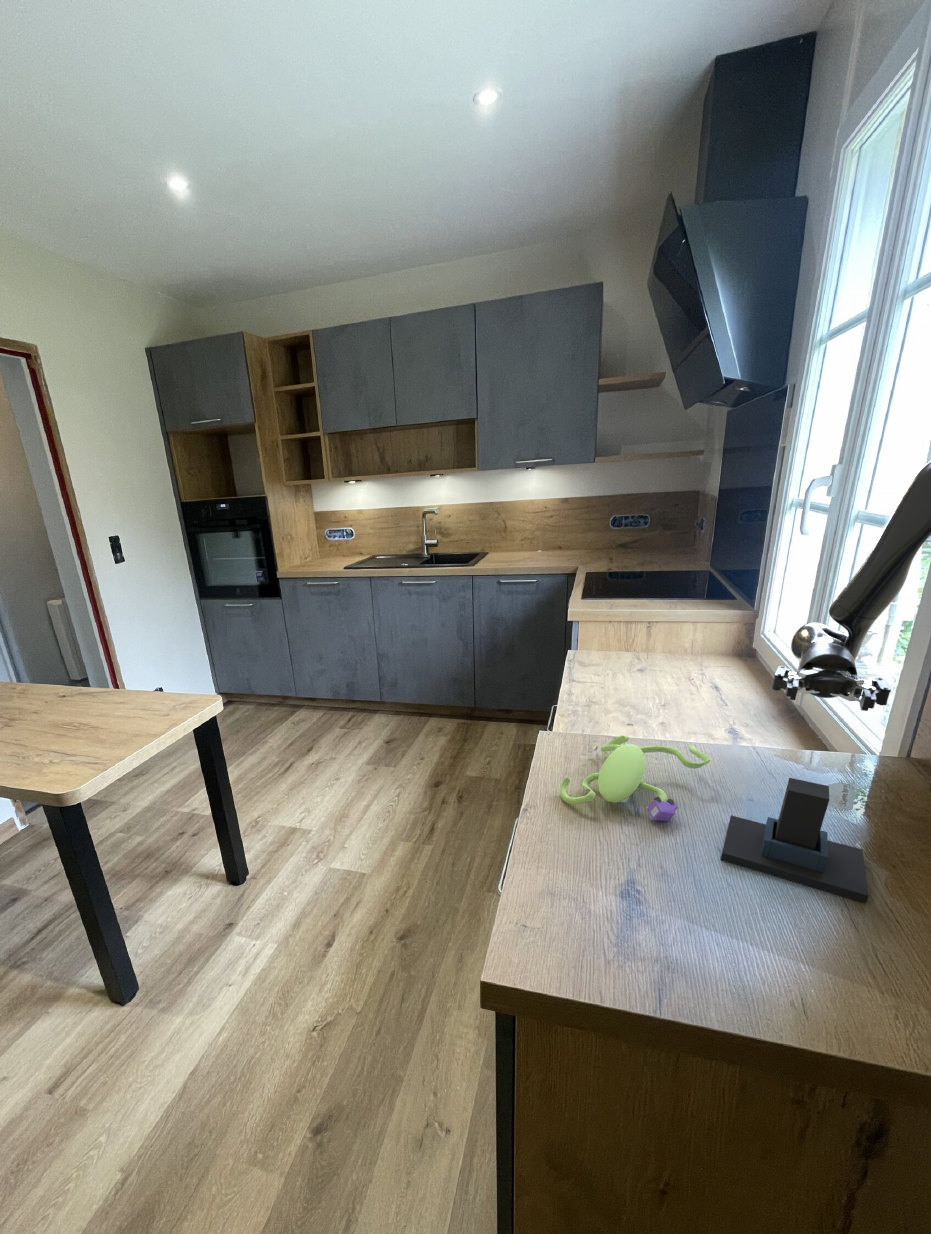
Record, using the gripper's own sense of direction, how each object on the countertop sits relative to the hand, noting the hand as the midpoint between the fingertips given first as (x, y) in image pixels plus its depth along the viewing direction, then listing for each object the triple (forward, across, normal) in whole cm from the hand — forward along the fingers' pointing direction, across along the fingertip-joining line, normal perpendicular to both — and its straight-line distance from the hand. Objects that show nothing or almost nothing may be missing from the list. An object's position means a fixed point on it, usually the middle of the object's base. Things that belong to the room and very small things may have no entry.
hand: (829, 699), depth 80 cm
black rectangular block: (+14, -1, +18) cm, 23 cm away
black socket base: (+14, -1, +19) cm, 24 cm away
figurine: (+5, -24, +19) cm, 31 cm away
